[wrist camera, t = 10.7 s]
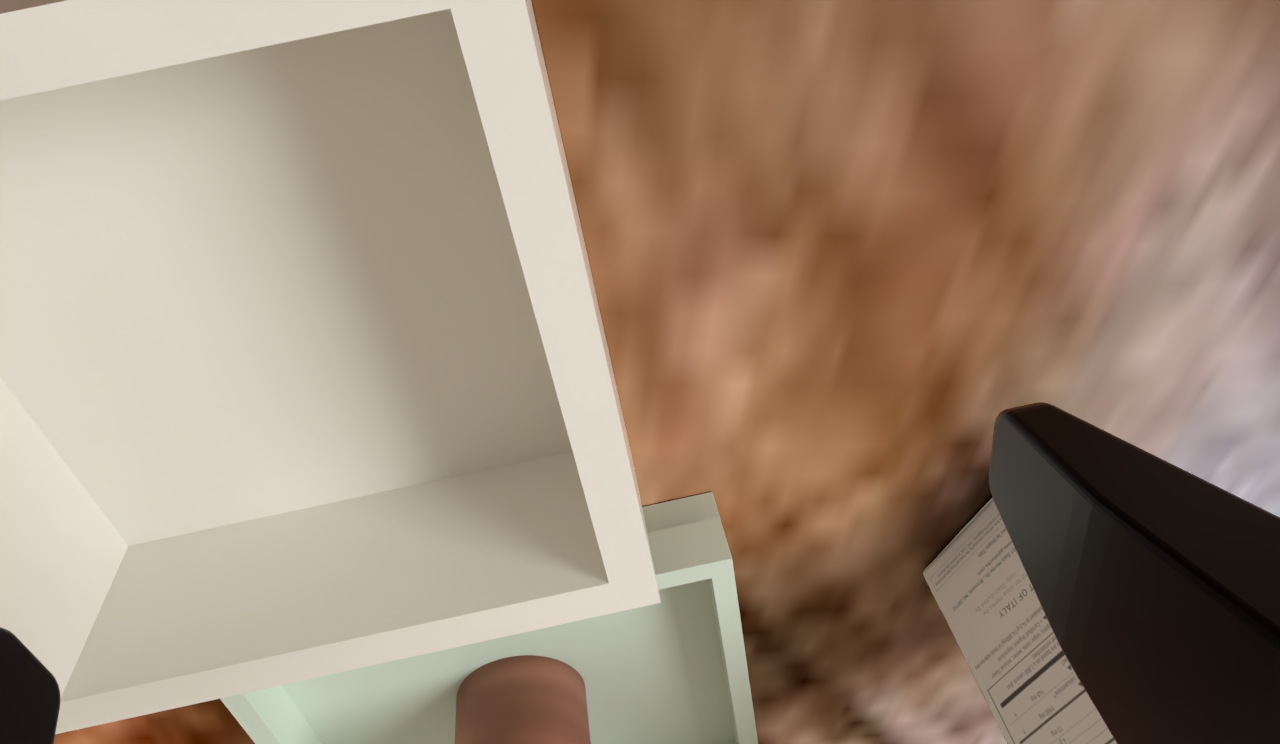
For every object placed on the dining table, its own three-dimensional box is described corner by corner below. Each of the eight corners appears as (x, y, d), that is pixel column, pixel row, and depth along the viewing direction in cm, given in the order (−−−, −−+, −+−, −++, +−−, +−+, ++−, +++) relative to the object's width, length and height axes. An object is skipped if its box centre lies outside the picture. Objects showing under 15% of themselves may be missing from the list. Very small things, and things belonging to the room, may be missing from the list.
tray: (712, 492, 25) (731, 558, 23) (747, 723, 32) (764, 789, 30) (223, 596, 25) (200, 673, 23) (369, 806, 32) (361, 879, 30)
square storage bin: (500, -135, 15) (504, -89, 11) (631, 455, 24) (661, 602, 20) (-307, 27, 15) (-599, 134, 11) (116, 565, 23) (38, 737, 19)
